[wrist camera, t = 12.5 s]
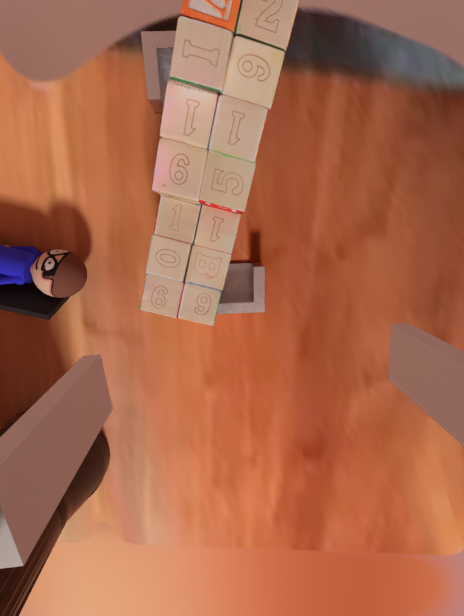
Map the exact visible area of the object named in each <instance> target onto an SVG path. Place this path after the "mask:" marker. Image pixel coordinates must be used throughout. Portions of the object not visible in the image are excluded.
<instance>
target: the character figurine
mask: <svg viewBox="0 0 464 616" xmlns="http://www.w3.org/2000/svg"><path fill="white" fill-rule="evenodd" d="M86 279H87V270H86V267H85V264H84V263H83V261H82V260H81V259H80V258H79V257H78V256H77V255H75V254H74V253H72V252H70V251H66V250H60V249H56V250H50V251H47V252H45V253H43V254H41V253H40V252H39V251H38V250H37V249H36V248H35V247H33V246H31V247H13V246H9V245H0V309H2V310H6V311H11V312H15V313H20V314H25V315H29V316H34V317H38V318H43V319H47V320H49V319H50V318H51V317H52V316H53V315H54V314H55V313H56V312H57V311H58V310H59V308H60V307H61V306H62V305H63V304H64V303H65V302H66V301H67V300H68V299H69V297H70V296H72V295H74V294H76V293H77V292H79V291H80V290H81V289H82V288H83V286H84V284H85V282H86Z"/></svg>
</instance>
